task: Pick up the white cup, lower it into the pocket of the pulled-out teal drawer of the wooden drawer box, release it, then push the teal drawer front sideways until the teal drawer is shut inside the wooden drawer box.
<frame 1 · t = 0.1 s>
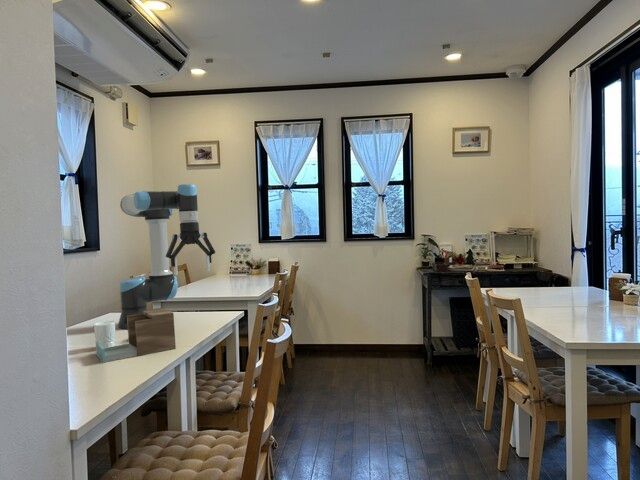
hand: (192, 272, 189), 28 cm above the table, fingers open, 13 cm apart
wooden drawer box: (152, 348, 180), on the table
white cup: (106, 347, 185), on the table
teal drawer: (118, 348, 173), point 3 cm above the table, slide at 11.0 cm
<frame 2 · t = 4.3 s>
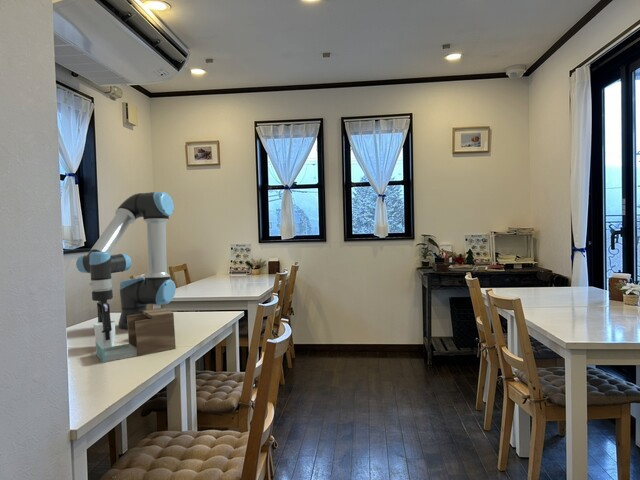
hand: (105, 345, 185), 1 cm above the table, fingers closed on white cup, 7 cm apart
white cup: (106, 347, 185), on the table, touching gripper
everything else where it was.
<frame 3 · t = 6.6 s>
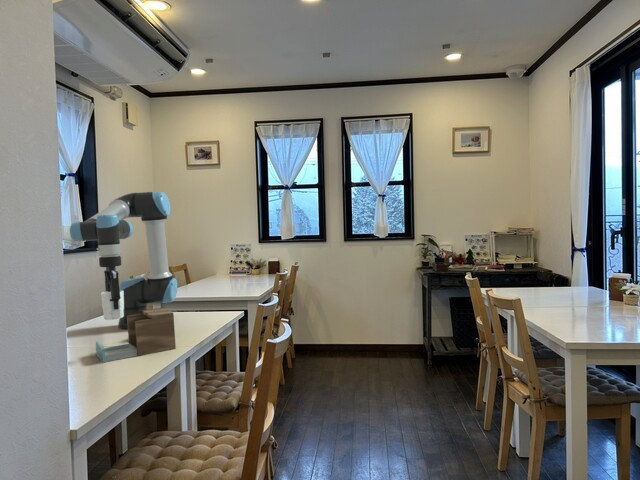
hand: (114, 316, 172), 15 cm above the table, fingers closed on white cup, 7 cm apart
white cup: (114, 318, 172), point 14 cm above the table, touching gripper
everything else where it was.
when the fingers open (3 cm above the table, at t = 9.1 s): white cup moves 2 cm, resting on teal drawer.
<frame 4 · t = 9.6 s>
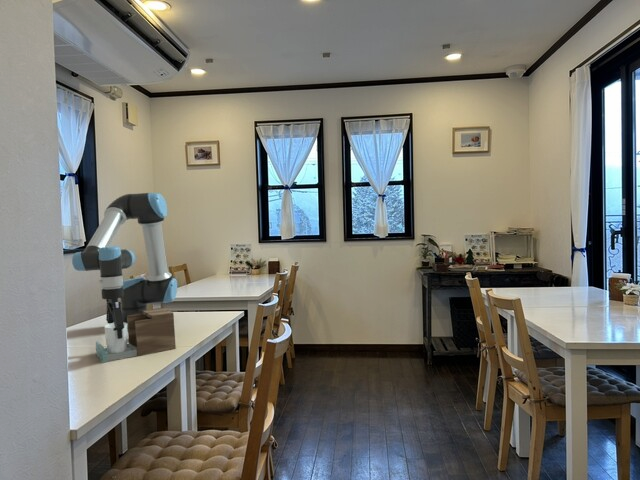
hand: (116, 343, 172), 4 cm above the table, fingers open, 13 cm apart
white cup: (117, 351, 171), point 2 cm above the table, touching gripper, teal drawer
teal drawer: (118, 348, 173), point 3 cm above the table, slide at 10.9 cm, touching white cup
everything else where it was.
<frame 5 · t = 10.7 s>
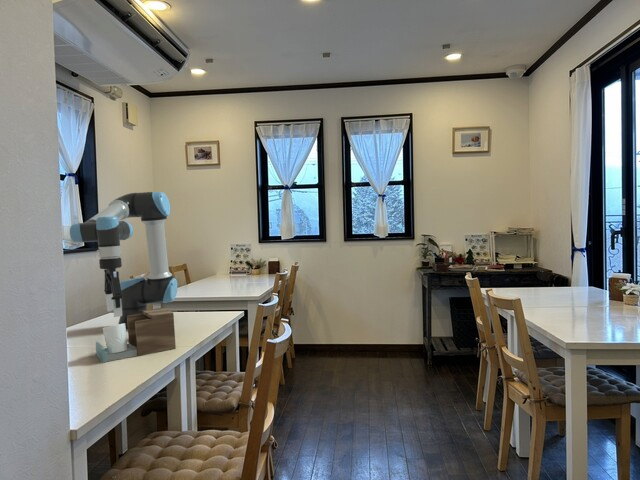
hand: (114, 313, 172), 16 cm above the table, fingers open, 13 cm apart
white cup: (118, 352, 170), point 2 cm above the table, touching teal drawer
everything else where it was.
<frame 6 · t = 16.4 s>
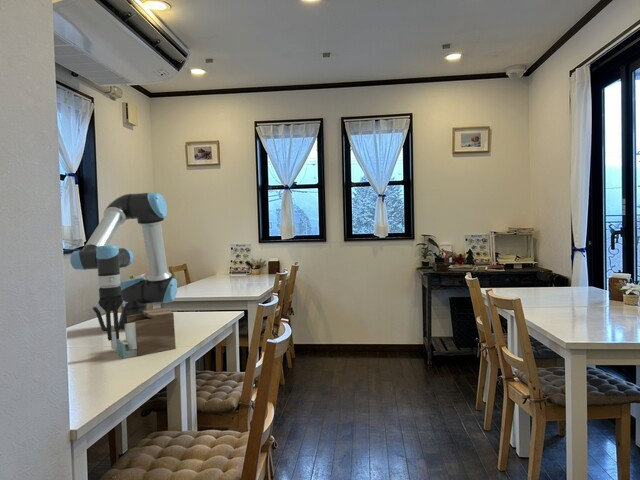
hand: (114, 348, 172), 3 cm above the table, fingers closed
white cup: (137, 349, 174), point 1 cm above the table, touching hand, teal drawer
teal drawer: (137, 344, 176), point 3 cm above the table, slide at 4.1 cm, touching white cup
everything else where it was.
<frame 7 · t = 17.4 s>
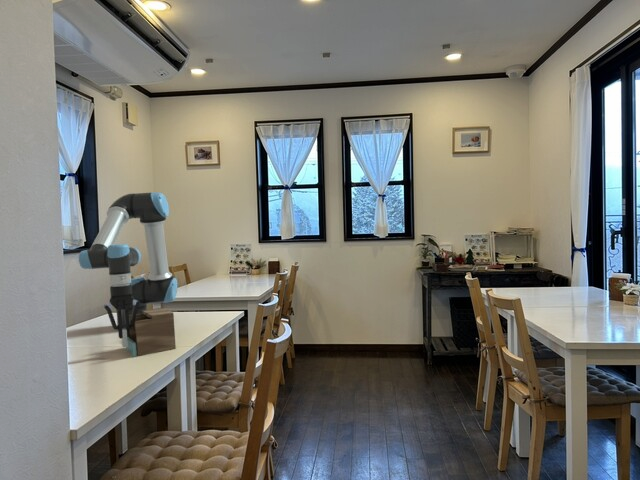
hand: (124, 346, 174), 3 cm above the table, fingers closed
white cup: (147, 347, 176), point 2 cm above the table, touching hand, teal drawer
teal drawer: (147, 342, 179), point 3 cm above the table, slide at 0.4 cm, touching white cup
everything else where it was.
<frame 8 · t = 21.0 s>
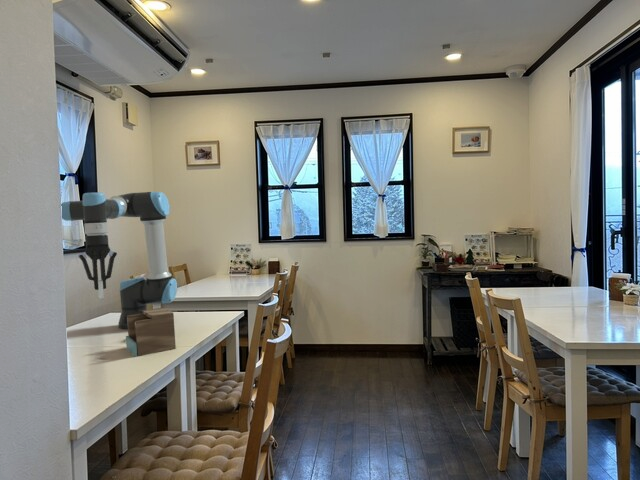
hand: (101, 298, 169), 22 cm above the table, fingers closed
white cup: (148, 347, 176), point 1 cm above the table, touching teal drawer
everything else where it was.
at the end: teal drawer slide at 0.1 cm; white cup 2.7 cm from the target spot on the wooden drawer box, point 1.5 cm above the wooden drawer box's base; white cup tilted 11° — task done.
